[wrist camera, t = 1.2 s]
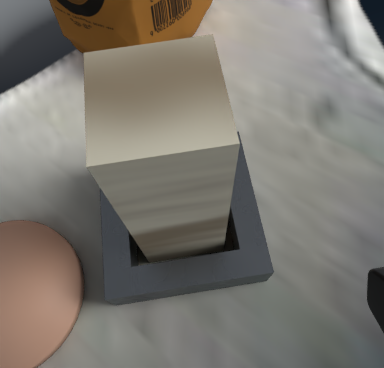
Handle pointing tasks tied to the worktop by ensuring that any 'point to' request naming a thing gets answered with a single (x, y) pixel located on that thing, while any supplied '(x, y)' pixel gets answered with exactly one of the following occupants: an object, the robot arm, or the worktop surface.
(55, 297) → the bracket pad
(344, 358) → the worktop surface
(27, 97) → the worktop surface
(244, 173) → the post holder
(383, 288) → the robot arm
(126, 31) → the coffee package
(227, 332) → the worktop surface
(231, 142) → the post
